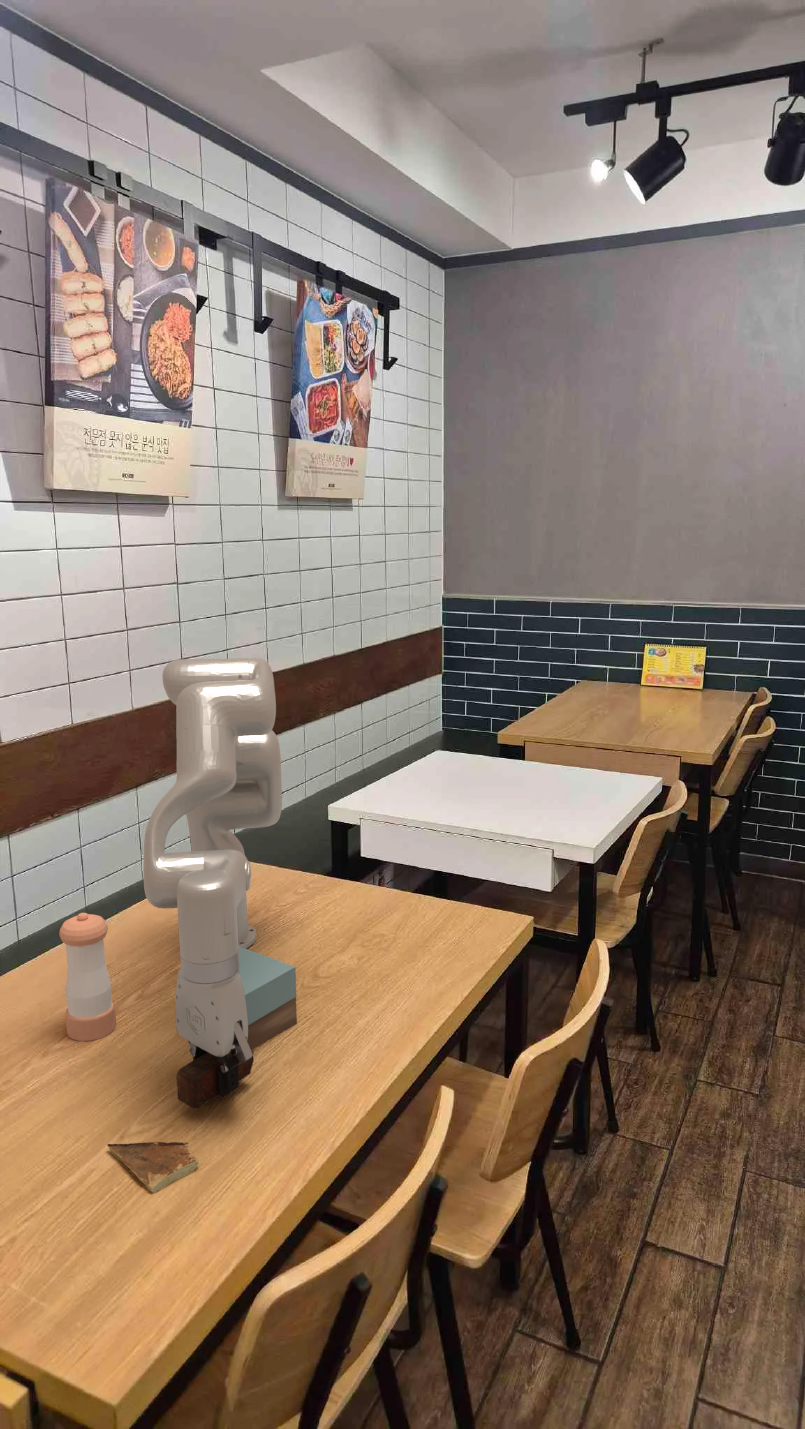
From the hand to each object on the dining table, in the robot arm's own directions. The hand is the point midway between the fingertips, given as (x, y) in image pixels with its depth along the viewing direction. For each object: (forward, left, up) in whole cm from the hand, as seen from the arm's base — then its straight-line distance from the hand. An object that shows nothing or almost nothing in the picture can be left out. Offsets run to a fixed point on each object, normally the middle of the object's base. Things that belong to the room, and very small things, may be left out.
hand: (216, 1083), depth 127 cm
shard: (+5, -15, -3) cm, 16 cm away
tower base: (-11, +14, -3) cm, 19 cm away
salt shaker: (-29, -1, -2) cm, 29 cm away
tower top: (-11, +14, +2) cm, 18 cm away
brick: (0, 0, -1) cm, 1 cm away
